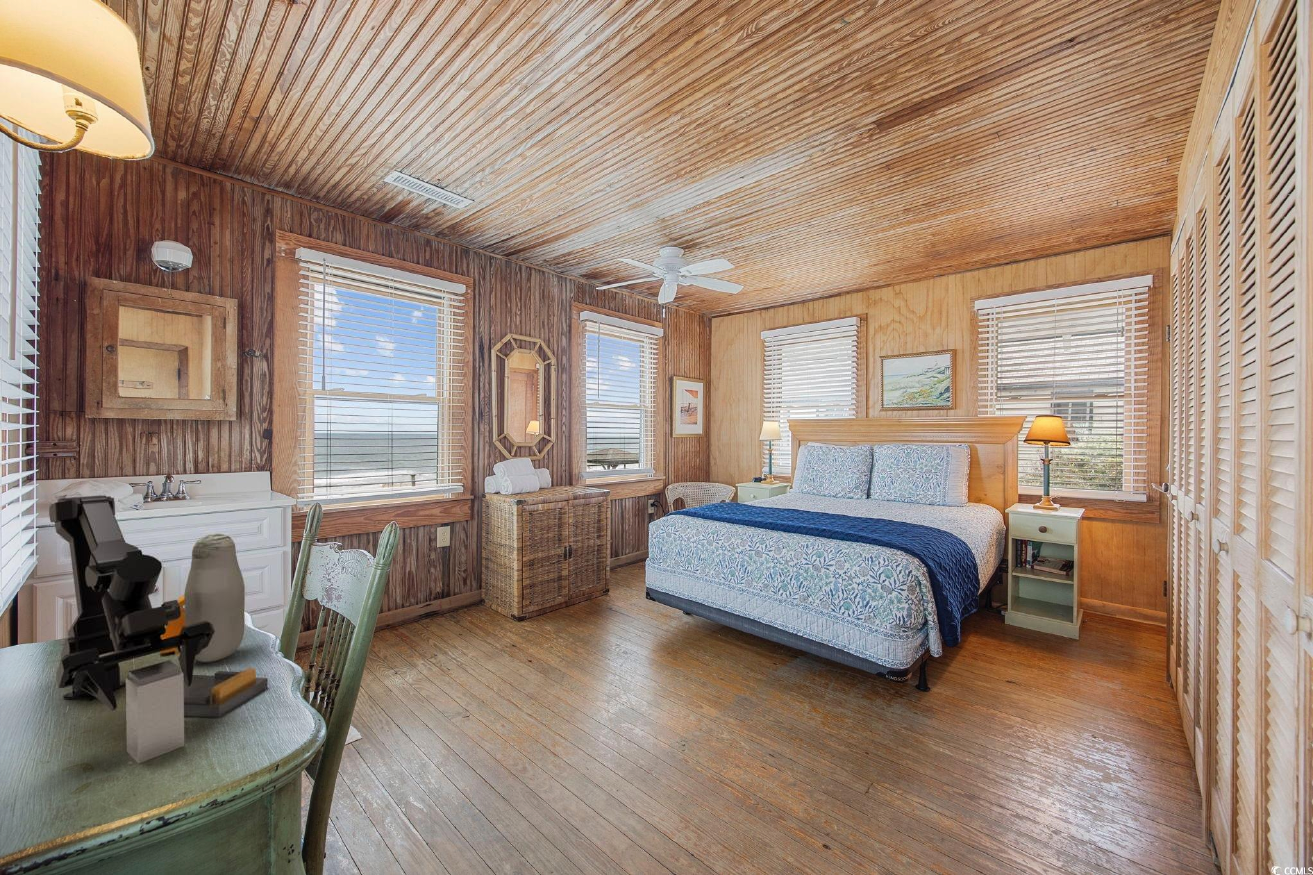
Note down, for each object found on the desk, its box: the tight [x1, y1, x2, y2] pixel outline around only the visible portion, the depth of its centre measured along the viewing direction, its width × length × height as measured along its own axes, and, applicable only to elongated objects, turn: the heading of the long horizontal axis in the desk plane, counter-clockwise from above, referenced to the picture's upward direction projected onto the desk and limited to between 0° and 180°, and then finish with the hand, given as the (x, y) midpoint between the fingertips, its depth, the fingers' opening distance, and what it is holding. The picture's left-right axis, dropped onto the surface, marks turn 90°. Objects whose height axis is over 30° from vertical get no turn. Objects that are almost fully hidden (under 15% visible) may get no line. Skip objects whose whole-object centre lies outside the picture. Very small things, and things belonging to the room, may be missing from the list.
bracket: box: [159, 594, 185, 655], centre depth 128 cm, size 11×7×12 cm, turn 130°
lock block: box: [125, 659, 185, 764], centre depth 88 cm, size 6×6×13 cm
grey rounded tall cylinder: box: [183, 533, 246, 663], centre depth 121 cm, size 10×10×28 cm
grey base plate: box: [183, 668, 268, 718], centre depth 104 cm, size 16×11×4 cm
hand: (153, 696), depth 88 cm, fingers open, 9 cm apart
